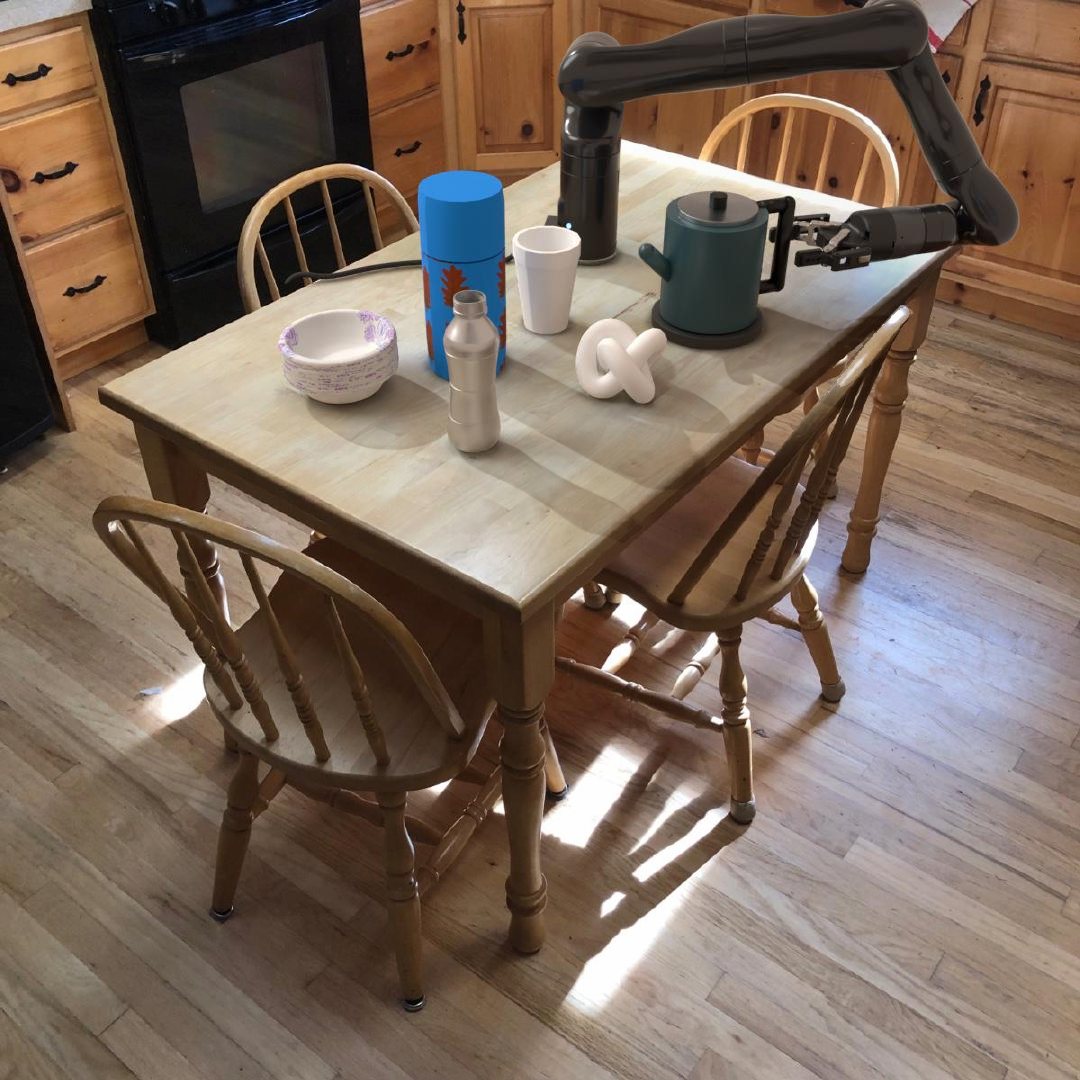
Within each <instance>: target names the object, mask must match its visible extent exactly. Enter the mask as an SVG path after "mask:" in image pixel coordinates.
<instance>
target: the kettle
mask: <svg viewBox="0 0 1080 1080" xmlns="http://www.w3.org/2000/svg"><path fill="white" fill-rule="evenodd" d="M796 205H797V201H796V199H795V198H794V197H793V196H792V195H785V196H782V197H774V198H768V199H761V200H757V201H756V200H754V199H752V198H750V197H748V196H746V195H743V194H739V193H736V192H731V191H723V190H702V191H695V192H692V193H688V194H686V195H685V194H684V195H682V196H679V197H677V198H674V199H673V200H671V201H669V203H668V204H667V205H666V207H665V219H664V220H665V221H664V233H663V246H662V247H663V248H662V252H661V251H660V250H659V249H657V247H656V246H654V245H653V244H652V243H650V242H645V243H642V244H640V246H639V248H638V251H637V254H638V257H639V258H640V259H641V260H642V261H643V262H644V263H645V264H646V265H647V266H648V267H649V268H650V269H651V270H653V271H654V272H655V273H656V274H657V275H658V276H659V277H660V287H659V289H660V291H659V299H660V302H659V312H660V314H661V316H662V317H663V319H664V320H666V321H667V322H668V323H670V324H671V325H673V326H675V327H678V328H680V329H683V330H687V331H691V332H696V333H703V334H723V333H730V332H735V331H738V330H741V329H744V328H746V327H747V326H749V325H750V324H752V323H753V321H754V320H755V318H756V314H757V306H758V307H759V297H760V295H765V294H771V293H780V292H782V291H783V290H784V288H785V284H786V277H787V269H788V261H789V255H790V249H791V242H792V241H791V235H792V228H793V221H794V216H795V212H796ZM773 214H778V215H777V221H776V222H777V223H776V226H777V228H776V236H775V243H773V251H772V252H773V253H772V261H771V267H770V274H769V278H765V279H762V274H763V264H764V258H765V250H766V241H767V233H768V225H769V219H770V215H773Z"/></svg>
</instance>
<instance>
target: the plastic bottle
mask: <svg viewBox="0 0 1080 1080" xmlns="http://www.w3.org/2000/svg"><path fill="white" fill-rule="evenodd" d="M453 304H454V306H453V313H454V314H455V315H456V316H455V317H454V318H453V320H452V321H451V322H450V324H449V326H448V327H447V329H446V331H445V334H444V338H443V342H444V348H445V354H446V359H447V364H448V370H449V379H450V380H449V406H448V413H447V418H446V425H445V429H446V434H447V437H448V441H449V442H450V444H451V445H452V446H453V447H454V448H455V449H457V450H459V451H461V452H465V453H482V452H485V451H488V450H490V449H491V448H494V446H495V445H496V443H497V442H498V441H499V439H500V435H501V430H502V423H501V417H500V413H499V410H498V409H499V408H498V402H497V391H496V378H497V377H496V376H497V374H496V364H497V357H498V351H499V342H500V337H499V334H498V331H497V328H496V327H495V325H494V324H493V323H492V321H491V320H490V319H489V318H488V317H487V316H486V315H485V314H486V313H487V305H486V296H485V294H484V293H482V292H480V291H476V290H465V291H460V292H458V293H456V294H455V295H454V297H453Z"/></svg>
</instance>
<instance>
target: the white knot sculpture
mask: <svg viewBox="0 0 1080 1080" xmlns="http://www.w3.org/2000/svg"><path fill="white" fill-rule="evenodd" d="M667 341H668V340H667V339H666V336H665V333H664V332H663V331H661V330H660V329H656V328H653V327H652V328H649V329H647V330H645V331H643V332H641V333H640V334H639V335H638V336H637V334H636V333H635V331H634V330H633V329H632V328H631V327H630V326H629V325H628V324H627V323H625V322H624V321H622V320H619V319H616V318H604V319H600V320H598V321H596V322H595V323H593V324H592V325H590V326H589V327H588V328H587V329H586V331H585V332H584V334H583V335H582V337H581V339H580V341H579V343H578V344H577V345H578V346H577V349H576V353H575V372H576V378H577V381H578V383H579V385H580V387H581V388H582V389H583V391H584V392H585V393H586V394H587V395H589V396H591V397H593V398H597V399H609V398H613V397H615V396H617V395H618V394H619V393H621V392H622V391H625V392H626V394H628V396H629V397H630V398H631V399H633V401H634V402H635V403H638V404H647V403H650V402H652V401H653V399H654V398H655V393H656V386H655V382H654V377H653V375H652V373H651V370H650V368H649V367H650V366H652V364H653V363H655V361H657V359H659V357H660V356H661V355H662V353H664V350H665V349H666V346H667ZM598 364H599V367H600V369H601V371H602V372H603V374H604V375H602V374H601V373H600V371H599V367H598Z"/></svg>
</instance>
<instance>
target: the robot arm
mask: <svg viewBox="0 0 1080 1080" xmlns="http://www.w3.org/2000/svg"><path fill="white" fill-rule="evenodd" d="M929 34H930V26H929V20H928V18H927V15H926V12H925V11H924V8H923V6H922V4H921V3H920V1H919V0H867V2H866V3H865V4H864V6H863V7H861V8H858V9H853V10H848V11H844V12H839V13H833V14H827V15H817V16H815V15H813V16H810V15H809V16H808V15H794V14H793V15H792V14H777V13H758V14H748V15H740V16H733V17H729V18H721V19H716V20H712V21H707V22H705V23H701V24H698V25H695V26H692V27H690V28H687V29H685V30H681V31H679V32H675V33H674V34H671V35H669V36H667V37H663V38H661V39H657V40H654V41H650V42H645V43H644V42H643V43H638V44H637V43H636V44H625V45H621V44H620V43H619V42H618V40H617V39H616V38H614V37H613V36H612V35H610V34H608V33H606V32H603V31H589V32H586V33H584V34H582V35H580V36H578V37H577V38H576V39H574V41H572V43H570V45H569V46H568V48H567V51H566V52H565V54H564V56H563V57H562V60H561V62H560V64H559V67H558V71H557V87H558V90H559V92H560V94H561V95H562V97H563V113H562V121H561V122H562V123H561V126H560V148H559V152H560V154H559V159H560V161H559V166H560V167H559V197H558V199H557V206H556V208H557V209H556V210H557V212H556V215H551V214H549V215H547V217H546V220H545V222H544V224H543V226H557V227H562V228H567V229H569V230H571V231H573V232H576V233H577V234H578V236H579V237H580V239H581V255H580V257H579V260H578V265H583V266H592V265H593V266H594V265H603V264H605V263H609V262H610V261H612V260H614V259H615V258H616V256H617V254H618V248H617V245H618V243H617V242H618V221H619V220H618V219H619V198H620V197H619V196H620V174H621V155H622V154H621V153H622V136H623V127H624V121H625V119H624V118H625V103H628V102H632V101H636V100H641V99H644V98H650V97H654V96H661V95H662V96H663V95H673V94H674V95H675V94H686V93H687V94H688V93H697V92H705V91H713V90H727V89H733V88H735V89H736V88H741V87H749V86H755V85H761V84H767V83H772V82H773V83H774V82H780V81H784V80H790V79H795V78H800V77H805V76H809V75H815V74H821V73H829V72H831V73H832V72H850V71H852V72H853V71H883V73H884V74H885V75H886V76H887V78H888V80H889V82H890V83H891V85H892V86H893V88H894V90H895V92H896V94H897V96H898V98H899V100H900V102H901V104H902V106H903V108H904V112H905V114H906V116H907V118H908V121H909V124H910V126H911V129H912V132H913V134H914V137H915V139H916V141H917V144H918V146H919V149H920V151H921V154H922V156H923V158H924V160H925V162H926V164H927V167H928V169H929V170H930V172H931V174H932V176H933V178H934V180H935V182H936V185H937V186H938V188H939V189H940V191H941V192H942V193H943V194H944V195H946V196H948V197H951V198H953V199H952V200H948V201H944V202H938V203H936V202H934V203H925V204H917V205H893V206H886V207H885V206H884V207H876V208H868V209H861V210H855V211H853V212H852V213H851V214H850V215H849V216H848V217H847V218H846V220H845V221H843V222H841V221H834V220H832V221H831V214H830V213H827V212H825V213H814V214H803V215H794V221H793V228H792V235H791V242H792V241H798V242H804V243H806V245H807V246H810V247H815V248H808V249H800V250H797V251H795V253H794V254H795V255H794V259H793V265H794V266H796V268H806V267H813V266H819V265H820V266H821V267H824V268H828V267H830V271H831V272H834V273H835V272H843V271H848V270H849V271H850V270H855V269H860V268H866V267H869V266H870V263H871V264H872V263H879V262H886V261H893V260H901V259H905V258H909V257H912V256H915V255H916V256H917V255H924V254H932V253H939V252H942V251H944V250H947V249H949V248H950V247H958V246H980V247H991V248H992V247H993V248H994V247H995V248H996V247H1001V246H1004V245H1006V244H1008V243H1009V242H1011V241H1012V240H1013V239H1014V238H1015V237H1016V235H1017V232H1018V230H1019V227H1020V212H1019V208H1018V205H1017V203H1016V201H1015V200H1014V197H1013V196H1012V195H1011V193H1010V191H1009V190H1008V189H1007V188H1006V187H1005V185H1004V184H1003V183H1002V182H1001V180H1000V178H999V177H998V176H997V175H996V174H995V173H994V172H993V171H992V170H991V169H990V167H989V166H988V164H987V163H986V161H985V159H984V156H983V154H982V152H981V150H980V147H979V145H978V144H977V141H976V138H975V137H974V134H973V133H972V131H971V129H970V127H969V125H968V123H967V121H966V119H965V117H964V116H963V114H962V112H961V110H960V109H959V107H958V105H957V103H956V102H955V99H954V98H953V96H952V93H951V92H950V90H949V88H948V87H947V84H946V83H945V81H944V79H943V75H942V74H941V72H940V70H939V67H938V65H937V62H936V60H935V57H934V54H933V52H932V48H931V44H930V41H929ZM776 228H777V225H776V226H771V227H770V228H769V231H768V238H767V240H768V241H769V242H770V243H771V244H775V236H776ZM815 234H816V238H815ZM844 259H845V260H844ZM513 260H515V259H514V257H513V251H512V252H511V254H509V255H507V256H505V264H507V263H509V262H511V261H513ZM841 260H844V262H842V263H841ZM413 266H422V259H409V260H397V261H389V262H383V263H376V264H369V265H365V266H359V267H356V268H352V269H346V270H343V271H337V272H331V273H317V272H312V271H299V272H298V271H297V272H295V273H292V274H291V275H290V276H289V277H288V278H287V279H286V280H285V282H284V284H287V285H289V284H292V283H293V282H294V281H296V280H299V279H301V278H308V279H314V280H326V281H327V280H334V279H341V278H345V277H349V276H354V275H358V274H362V273H366V272H372V271H378V270H384V269H385V270H386V269H393V268H401V267H402V268H403V267H413Z"/></svg>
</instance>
